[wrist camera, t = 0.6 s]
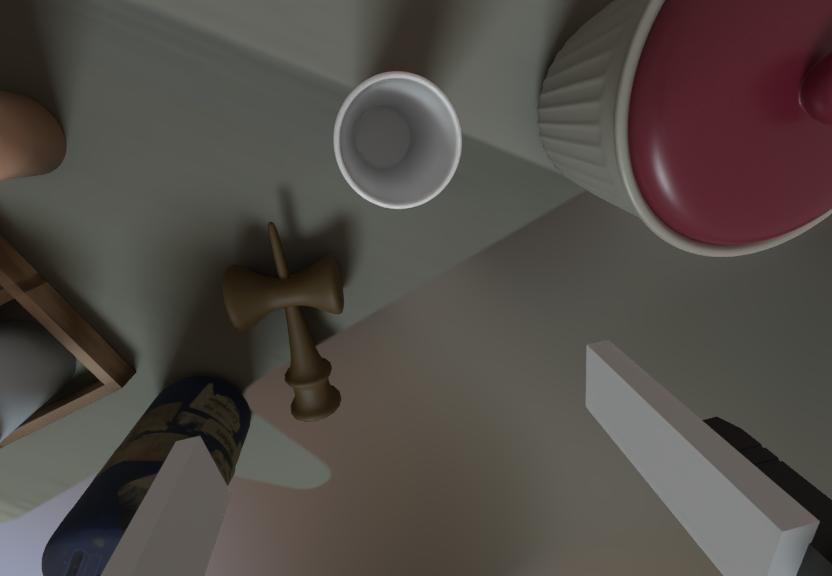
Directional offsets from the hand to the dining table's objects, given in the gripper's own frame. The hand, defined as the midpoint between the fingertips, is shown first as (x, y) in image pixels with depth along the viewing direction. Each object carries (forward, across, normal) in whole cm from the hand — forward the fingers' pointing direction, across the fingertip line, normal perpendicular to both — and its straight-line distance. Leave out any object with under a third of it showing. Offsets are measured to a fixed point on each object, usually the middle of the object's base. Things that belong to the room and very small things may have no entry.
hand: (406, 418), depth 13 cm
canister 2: (+26, +22, +7) cm, 35 cm away
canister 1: (+26, -21, -15) cm, 37 cm away
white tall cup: (+26, +2, +8) cm, 27 cm away
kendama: (+26, -9, -7) cm, 28 cm away
